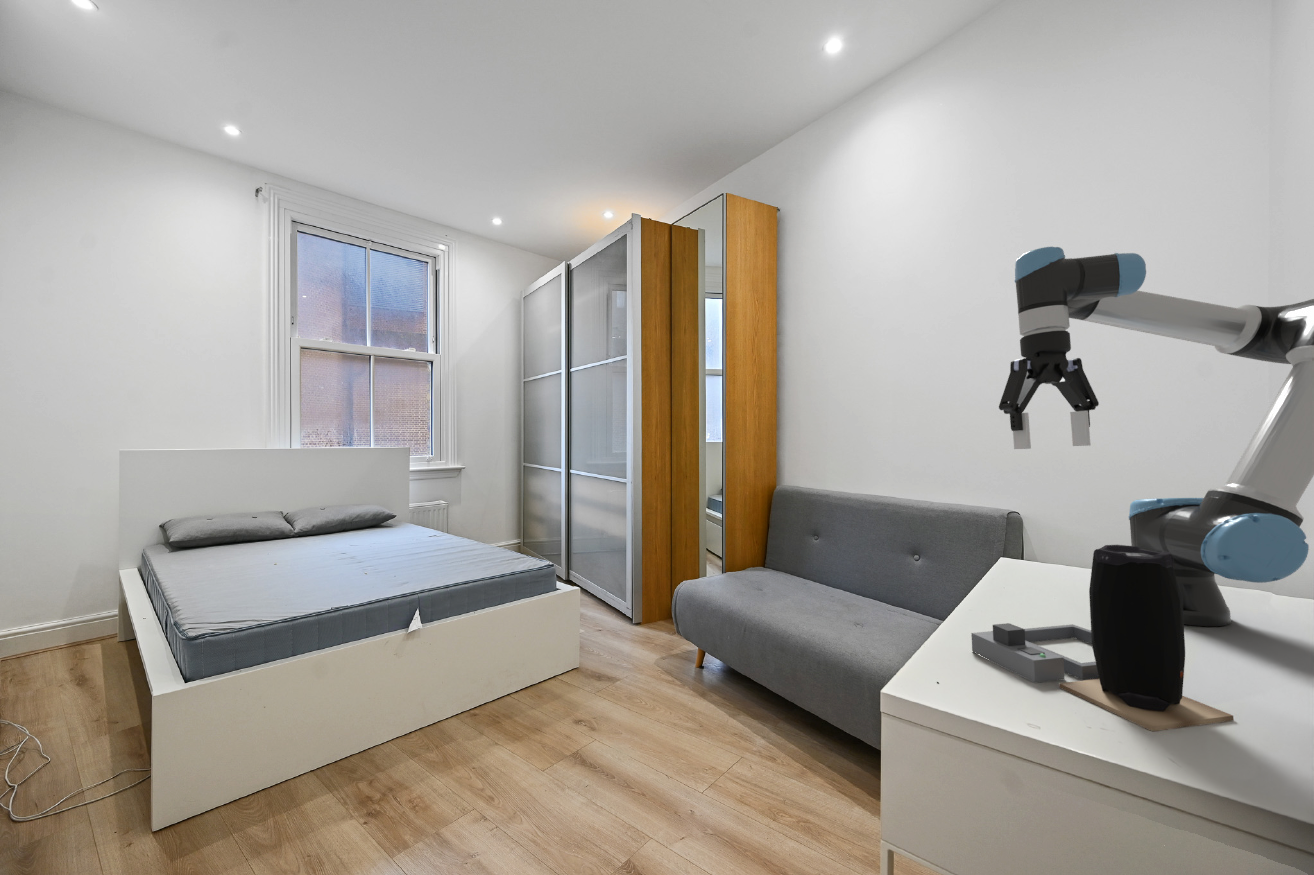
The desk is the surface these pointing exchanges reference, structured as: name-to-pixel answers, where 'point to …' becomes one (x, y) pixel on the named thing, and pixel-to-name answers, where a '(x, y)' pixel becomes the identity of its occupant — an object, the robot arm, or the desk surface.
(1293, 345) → the robot arm
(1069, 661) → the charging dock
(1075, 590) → the desk surface
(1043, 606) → the desk surface
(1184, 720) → the cork mat
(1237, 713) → the desk surface
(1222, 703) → the desk surface
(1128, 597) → the portable speaker
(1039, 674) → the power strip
